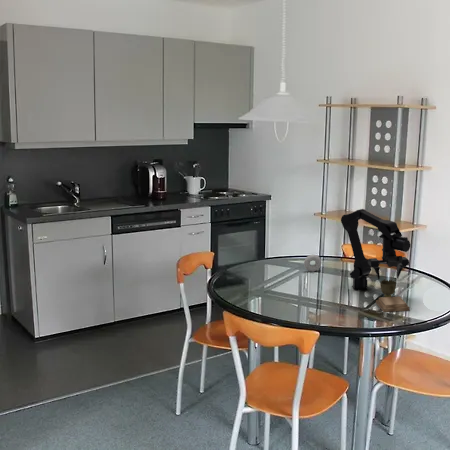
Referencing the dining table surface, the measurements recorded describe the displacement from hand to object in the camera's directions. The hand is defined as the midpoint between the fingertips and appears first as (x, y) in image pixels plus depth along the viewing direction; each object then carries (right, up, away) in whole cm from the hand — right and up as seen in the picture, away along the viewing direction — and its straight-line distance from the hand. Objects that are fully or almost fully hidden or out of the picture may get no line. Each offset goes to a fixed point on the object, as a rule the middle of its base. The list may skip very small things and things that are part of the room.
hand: (388, 278), depth 282 cm
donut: (-29, 0, +48) cm, 56 cm away
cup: (0, -9, +2) cm, 10 cm away
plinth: (-1, -12, -11) cm, 16 cm away
